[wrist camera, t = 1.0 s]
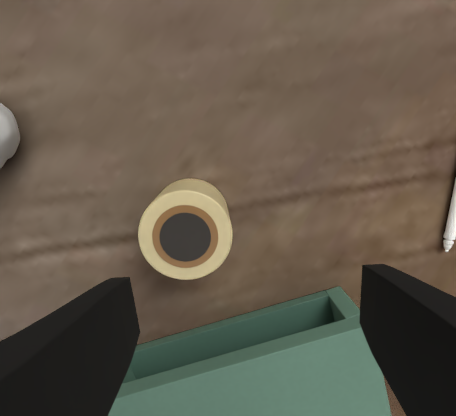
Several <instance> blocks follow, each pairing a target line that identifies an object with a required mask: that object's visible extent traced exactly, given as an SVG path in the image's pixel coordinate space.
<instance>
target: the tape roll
mask: <svg viewBox="0 0 456 416" xmlns="http://www.w3.org/2000/svg"><path fill="white" fill-rule="evenodd" d="M232 238H233V233H232V226H231V221H230V217H229V212H228V208H227V204H226V201H225V199H224V197H223V196H222V194H221V193H220V192H219V191H218V190H217V189H216V188H215V187H214V186H213V185H211V184H209V183H208V182H205V181H203V180H199V179H191V178H189V179H182V180H178V181H175V182H173V183H171V184H170V185H168V186H167V187H166V188H165V189H163V190H162V192H161V193H160V194H159V195H158V196H157V197H156V198H155V199H154V200H153V202H152V203H151V204H150V205H149V206H148V207H147V209H146V210H145V212H144V213H143V215H142V217H141V220H140V223H139V228H138V241H139V245H140V249H141V251H142V253H143V255H144V257H145V259H146V260H147V261H148V263H149V264H150V265H151V266H152V267H153V268H154V269H156V270H157V271H158V272H160V273H162V274H163V275H165V276H168V277H171V278H174V279H180V280H192V279H197V278H201V277H204V276H206V275H208V274H210V273H212V272H213V271H215V270H216V269H217V268H218V267H219V266H220V265H221V264H222V263H223V262H224V261H225V259H226V258H227V256H228V254H229V252H230V249H231V245H232Z"/></svg>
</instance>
